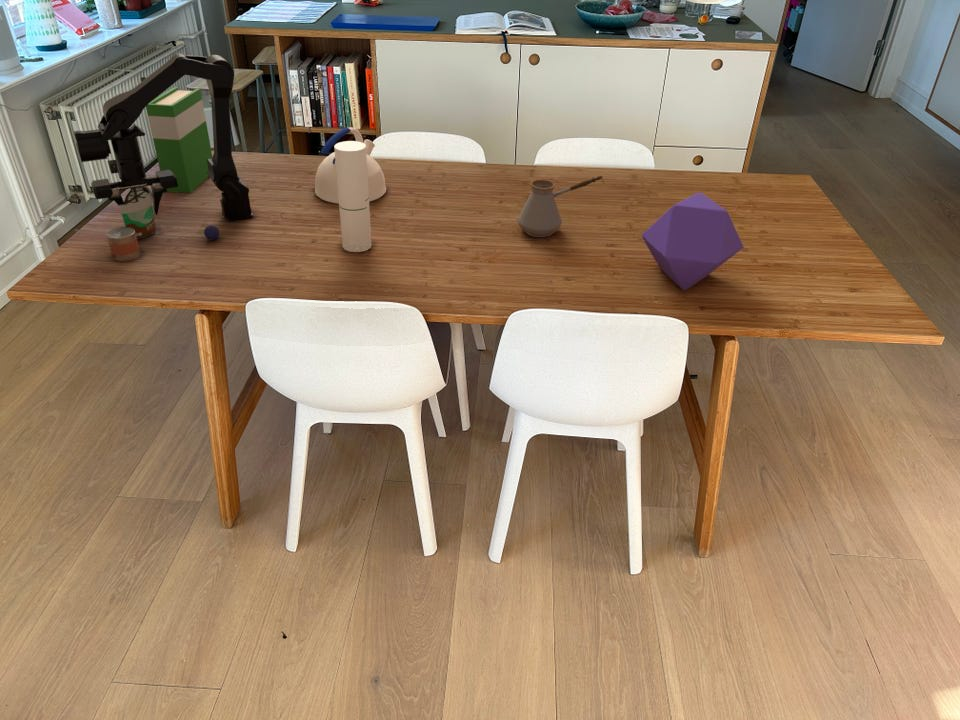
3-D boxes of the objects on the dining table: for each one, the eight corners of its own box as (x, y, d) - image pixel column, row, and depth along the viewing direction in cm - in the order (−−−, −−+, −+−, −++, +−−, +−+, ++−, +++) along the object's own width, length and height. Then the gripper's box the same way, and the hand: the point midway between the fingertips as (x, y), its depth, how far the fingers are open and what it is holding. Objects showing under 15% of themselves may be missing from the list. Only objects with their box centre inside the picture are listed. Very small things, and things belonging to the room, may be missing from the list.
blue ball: (218, 235, 186) (216, 222, 184) (222, 241, 184) (219, 227, 182) (203, 238, 185) (201, 224, 183) (207, 243, 182) (204, 230, 180)
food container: (154, 242, 182) (145, 206, 175) (128, 242, 181) (118, 206, 175) (165, 217, 191) (157, 181, 185) (140, 217, 190) (131, 181, 184)
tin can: (138, 248, 179) (132, 225, 176) (142, 258, 175) (136, 234, 172) (111, 253, 177) (104, 229, 173) (114, 263, 172) (108, 240, 169)
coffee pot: (519, 240, 189) (523, 184, 180) (514, 221, 198) (518, 167, 190) (602, 240, 191) (609, 184, 182) (593, 221, 200) (600, 167, 192)
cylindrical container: (376, 242, 186) (371, 143, 172) (363, 254, 180) (357, 152, 166) (350, 237, 188) (343, 139, 173) (337, 249, 182) (328, 148, 168)
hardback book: (191, 169, 223) (174, 87, 210) (214, 170, 223) (200, 88, 209) (164, 191, 209) (145, 104, 195) (189, 192, 208) (172, 105, 195)
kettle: (401, 188, 216) (399, 125, 206) (354, 211, 201) (350, 145, 191) (347, 172, 225) (343, 112, 214) (299, 193, 210) (292, 130, 200)
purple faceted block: (724, 312, 169) (775, 235, 161) (659, 291, 161) (710, 208, 152) (676, 267, 187) (720, 196, 179) (615, 246, 178) (658, 170, 170)
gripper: (162, 140, 186) (175, 199, 195) (80, 150, 178) (98, 211, 187) (171, 153, 178) (184, 214, 187) (86, 165, 170) (104, 228, 179)
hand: (142, 216), depth 185 cm, fingers closed on food container, 6 cm apart
